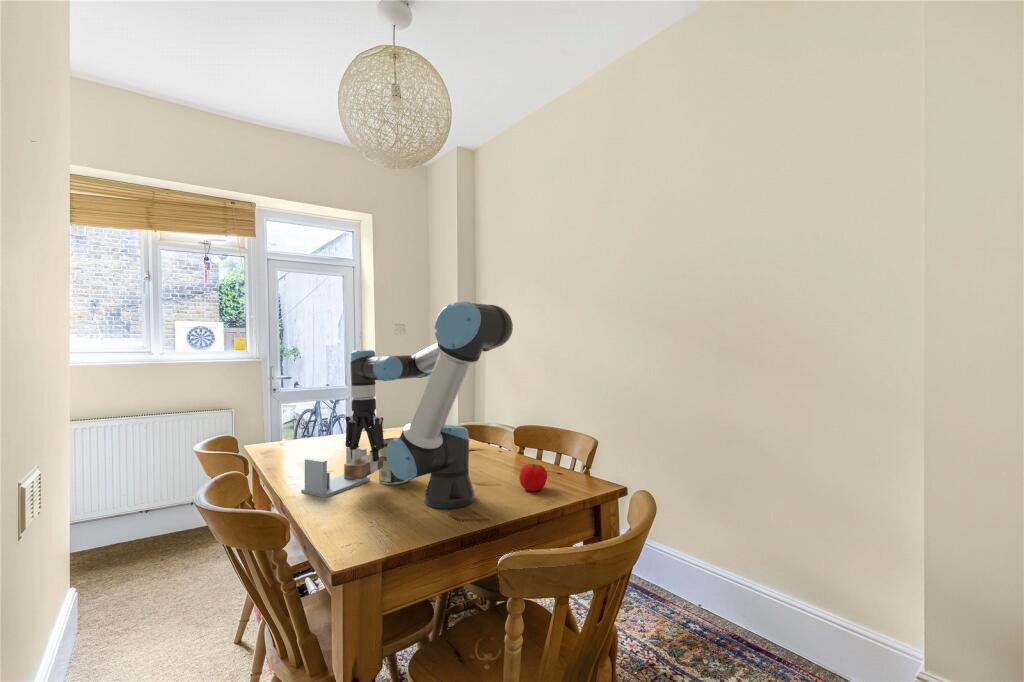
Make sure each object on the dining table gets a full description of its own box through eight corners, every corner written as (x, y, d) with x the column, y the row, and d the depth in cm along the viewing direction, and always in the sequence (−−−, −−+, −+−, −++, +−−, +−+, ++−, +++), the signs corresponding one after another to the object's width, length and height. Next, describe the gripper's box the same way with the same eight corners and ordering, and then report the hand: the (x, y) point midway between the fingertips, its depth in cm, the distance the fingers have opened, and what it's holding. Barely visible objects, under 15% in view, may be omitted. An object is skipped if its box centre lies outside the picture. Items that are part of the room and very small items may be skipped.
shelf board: (383, 467, 154) (382, 455, 154) (362, 478, 140) (361, 465, 140) (367, 466, 155) (367, 454, 155) (345, 478, 141) (345, 465, 141)
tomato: (532, 496, 147) (532, 469, 147) (512, 488, 155) (512, 463, 155) (553, 490, 153) (553, 464, 153) (532, 482, 161) (532, 458, 161)
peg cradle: (370, 480, 163) (370, 449, 163) (326, 497, 145) (326, 462, 145) (346, 476, 168) (346, 446, 167) (301, 492, 150) (301, 458, 150)
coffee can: (411, 476, 168) (411, 437, 168) (404, 485, 158) (404, 443, 158) (383, 476, 168) (383, 437, 168) (374, 484, 158) (374, 443, 158)
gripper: (395, 397, 147) (396, 470, 147) (349, 396, 156) (350, 465, 155) (379, 400, 141) (380, 476, 140) (332, 398, 149) (333, 470, 148)
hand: (365, 470), depth 148 cm, fingers closed on shelf board, 6 cm apart
